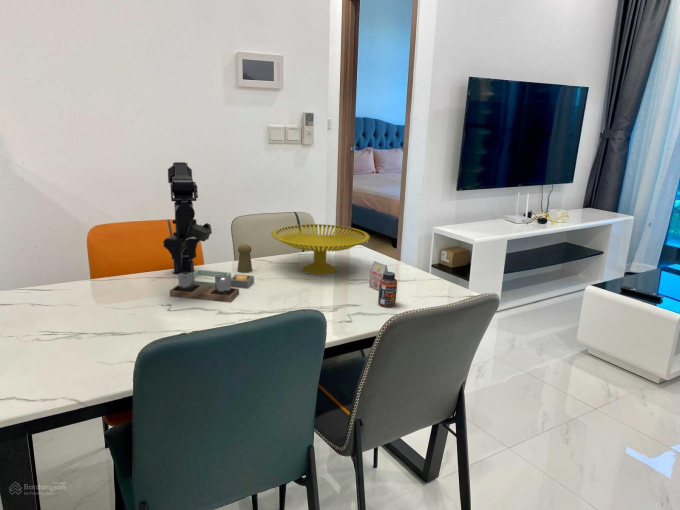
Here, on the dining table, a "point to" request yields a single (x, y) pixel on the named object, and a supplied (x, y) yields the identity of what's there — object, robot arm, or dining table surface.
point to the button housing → (242, 282)
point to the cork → (244, 259)
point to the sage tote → (208, 273)
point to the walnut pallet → (204, 293)
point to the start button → (241, 277)
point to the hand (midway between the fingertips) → (185, 262)
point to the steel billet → (186, 281)
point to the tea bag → (377, 274)
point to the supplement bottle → (387, 290)
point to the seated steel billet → (223, 285)
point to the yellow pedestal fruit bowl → (320, 243)
